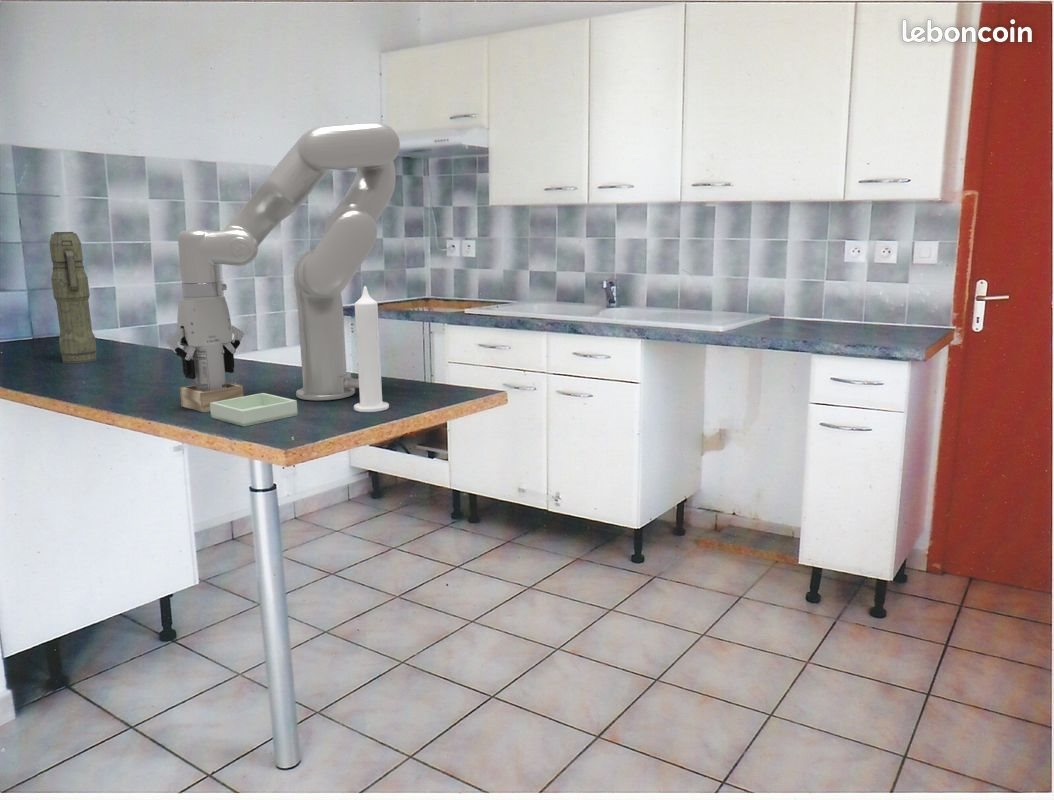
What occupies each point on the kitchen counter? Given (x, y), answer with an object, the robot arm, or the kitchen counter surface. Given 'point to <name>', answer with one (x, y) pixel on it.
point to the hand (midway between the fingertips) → (209, 374)
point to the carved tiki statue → (72, 299)
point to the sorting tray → (253, 409)
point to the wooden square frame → (208, 396)
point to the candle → (368, 355)
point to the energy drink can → (209, 365)
